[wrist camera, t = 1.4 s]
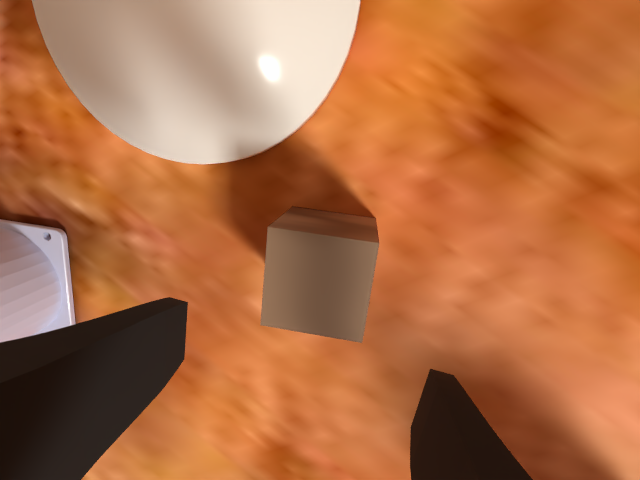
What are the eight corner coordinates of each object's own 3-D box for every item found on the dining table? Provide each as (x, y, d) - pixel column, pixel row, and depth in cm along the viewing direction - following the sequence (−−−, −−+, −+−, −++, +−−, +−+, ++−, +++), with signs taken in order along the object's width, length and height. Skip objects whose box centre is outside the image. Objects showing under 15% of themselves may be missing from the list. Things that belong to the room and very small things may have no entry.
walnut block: (285, 282, 20) (260, 325, 15) (292, 206, 19) (267, 226, 14) (362, 294, 20) (362, 342, 15) (375, 217, 18) (379, 242, 14)
